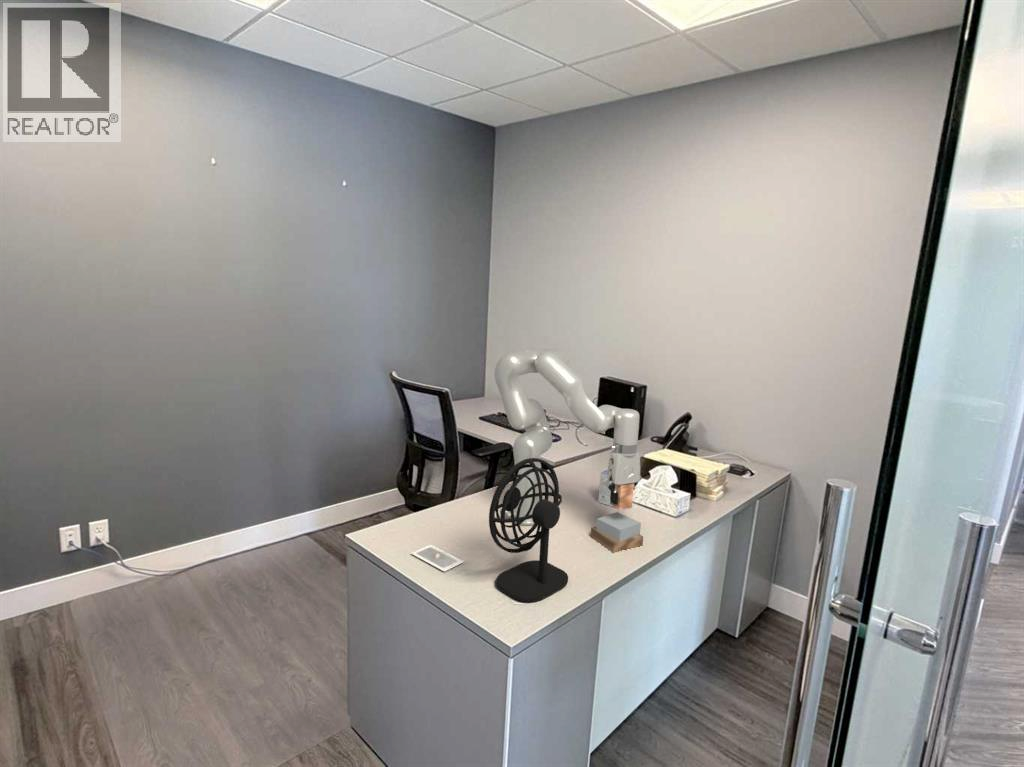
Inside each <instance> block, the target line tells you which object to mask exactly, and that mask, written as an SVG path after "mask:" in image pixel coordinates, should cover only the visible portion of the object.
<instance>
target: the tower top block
mask: <svg viewBox="0 0 1024 767" xmlns="http://www.w3.org/2000/svg"><path fill="white" fill-rule="evenodd" d="M641 526H642V522H640V521H638V520H636V519H635V518H631V517H630V516H627V515H625V514H622V513H620V512H618V511H616V512H614V513H611V514H608V515H604V516H601V517H598V518H596V526H595V527H596V530H597V531H599V532H601V533H603V534H605V535H607V536H609V537H611V538H613V539H615V540H616V541H618V542H621V541H623V540H626V539H629V538H631V537H634V536H637V535H639V534H640V535H641Z"/></svg>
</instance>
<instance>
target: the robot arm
mask: <svg viewBox="0 0 1024 767" xmlns="http://www.w3.org/2000/svg"><path fill="white" fill-rule="evenodd" d="M532 373H533V374H536V373H538V374H540V375H541V376H542V377H543V378H544V379H545V380H546V381H547V382H548V383H549V384H550V385H551V386H552V387H553V388H554V389H555V390H556V391H557V392H558V393H559V394H560V395H562V397H563V398H564V402H565V403H566V405H567V406H568V408H569V410H570V412H571V413H572V414H573V416H574V417H575V418H576V419H577V420H578V421H579V422H580V423H581V424H582V425H583V426H584V427H585V428H586V429H588V430H589V431H590V432H592V433H597V434H601V433H604V432H606V431H607V430H609V429H612V428H613V429H614V430H613V445H611V446H610V450H611V451H610V455H609V460H608V466H607V470H608V472H607V477H606V478H605V480H604V481H603V484H604V485H606V486H607V487H608V488H609V490H610V491H611V494H610V501H611V502H612V503H613V504H615V505H617V504H618V493H617V490H618V487H619V485H624V484H630V483H633V484H634V488H633V491H635V490H636V486H637V485H638V483H640V481H641V480H642V479H643V477H642V476H641V459H640V452H639V451H638V441H639V430H640V413H639V411H638V410H635V409H633V408H621V407H617V406H615V405H610V404H602V405H600V406H597V405H596V404H594V403H593V402H592V400H590V398H588V396H587V394H586V393H585V390H584V383H583V382H584V381H583V378H582V377H581V376H580V375H579V374H578V373H577V372H575V370H573V368H571V367H570V366H569V357H568V355H567V354H566V353H565V351H564V350H561V349H559V348H551V349H550V348H549V349H548V348H547V349H546V348H545V349H536V348H535V349H534V348H533V349H532V348H531V349H530V348H529V349H522V350H521V349H520V350H515V351H511V352H508V353H506V354H504V355H503V356H501V357H500V359H499V360H498V361H497V363H496V365H495V367H494V379H495V383H496V387H497V389H498V392H499V395H500V397H501V401H502V405H503V407H504V412H505V413H506V417H507V420H508V423H509V425H510V427H512V428H513V429H514V430H516V431H517V430H518V431H520V430H524V431H525V432H523V433H521V434H520V435H518V437H517V438H516V439H515V440H514V443H513V445H512V446H513V447H512V453H513V460H514V465H516V464H517V463H519V462H520V461H522V460H525V459H529V458H538V459H541V456H543V454H544V453H547V451H549V450H550V449H551V448H552V445H553V434H552V431H551V428H550V425H549V421H548V419H547V415H546V412H545V410H544V408H543V406H542V404H541V403H540V402H539V401H538V400H536V399H533V398H528V397H527V395H526V391H525V388H524V385H523V384H522V383H521V381H520V380H519V377H520V376H522V375H523V376H524V375H528V374H532ZM527 464H529V463H527ZM534 464H535V465H536V466H537V467H538V468H542V463H541V462H534ZM530 469H533V468H532V467H527V468H523V469H520V470H519V472H518V475H519V474H523V473H524V472H526V471H527V470H530ZM538 473H539V471H538ZM514 474H515V473H514ZM514 474H513V475H514ZM527 476H528V477H529V478H530V479H531V480H532V481H533V483H534V485H535V484H537V479H536V475H535V472H532V473H530V474H528V475H527ZM539 476H540V481H541V482H542V476H541V474H540V473H539ZM517 478H518V477H517ZM610 481H611V484H610V483H609V482H610ZM614 484H615V487H614ZM516 487H517V488H518V489H519V490H520V493H521V496H524V494H525V493H526V491H527V490H528V489H529V488H530V487H532V485H531V483H530V481H529V480H528V479H527V478H526V477H524V478H523V479H522V480H521V481H520V482H519V483H518V484H517V486H516ZM535 493H539V490H538V486H537V487H535ZM529 494H533V489H532V490H531V491H530V492H529ZM529 494H528V495H529ZM520 501H521V500H520ZM531 502H532V497H531V498H526V499H524V501H523V504H522V506H521V510H520V515H519V517H523V516H525V515H526V514H527V512H528V510H529V508H530V505H531ZM538 502H539V496H537V497H535V501H534V505H533V508H532V510H531V512H530V514H529V515H532V512H533V509H534V507H535V505H536V504H537V503H538ZM519 503H520V502H519ZM518 506H519V504H518ZM518 506H517V507H516V508H515V509H514V518H516V516H517V510H518ZM501 510H502V509H500V511H499V514H500V515H499V516H501ZM505 517H506V518H507V519H510V518H511V511H505ZM516 523H517V522H515V524H516ZM533 525H534V522H533V520H532V518H531V519H527V520H524V521H523V522H522V523H521V524H520V526H533Z"/></svg>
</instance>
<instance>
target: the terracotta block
mask: <svg viewBox="0 0 1024 767" xmlns="http://www.w3.org/2000/svg"><path fill="white" fill-rule="evenodd" d="M614 487H615V484H614ZM633 488H634V484H633V483H630V484H624V485H619V487H618V490H617V493H618V504H617V505H615V504H613V503H612V502H611V501H610V504H611V505H612V506H611V507H613V506H614V507H613V508H616V509H617V510H619V511H620V510H625V509H631V508H633V500H634V499H633V498H634V497H633V496H634V490H633Z"/></svg>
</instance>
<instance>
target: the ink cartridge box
mask: <svg viewBox="0 0 1024 767" xmlns="http://www.w3.org/2000/svg"><path fill="white" fill-rule="evenodd" d="M607 472H608V469H606V470H603V471H601V472H600V475H599V476H600V477H599V487H598V488H599V489H598V490H599V491H598V500H597V502H598V503H601V504H604V505H607V506H611V507H613V508H615V507H614V506H612V505H611V504H610V494H611V491H610V490H609V488H608V487H607V486H606V485H604V484H603V481H604V480H605V478H606V477H607ZM609 483H610V484H611V481H610V482H609Z"/></svg>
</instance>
